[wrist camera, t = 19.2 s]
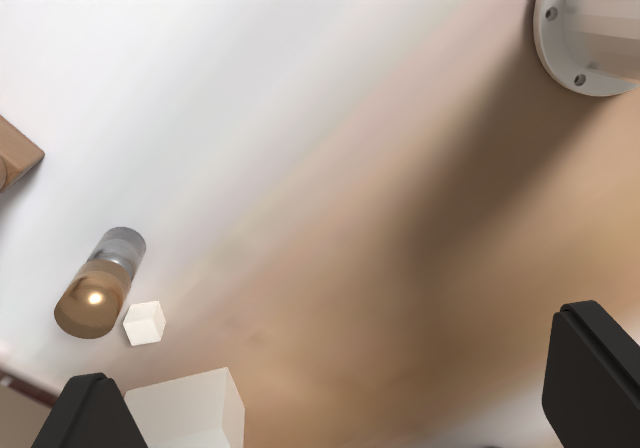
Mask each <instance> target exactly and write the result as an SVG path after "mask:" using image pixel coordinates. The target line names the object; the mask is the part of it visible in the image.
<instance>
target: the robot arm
mask: <svg viewBox="0 0 640 448" xmlns="http://www.w3.org/2000/svg"><path fill="white" fill-rule="evenodd" d="M546 12H547V15H546ZM545 15H546V16H545ZM533 33H534V41H535V46H536V50H537V54H538V56H539V58H540V60H541V63H542V65H543V67H544V68H545V70H546V71H547V72H548V73H549V75H550V76H551V77H552V78H553V79H554V80H555V81H557V82H558V83H559V84H560V85H562V86H563V87H565V88H568V89H570V90H572V91H575V92H578V93H581V94H585V95H589V96H610V95H617V94H621V93H624V92H627V91H630V90H633V89H636V88H637V87H639V86H640V0H536V2H535V9H534V17H533ZM542 407H543V410H544V413H545V415H546V417H547V419H548V421H549V423H550V424H551V426H552V428H553V430H554V431H555V433H556V435H557V436H558V438H559V440H560V441H561V443H562V445H563V447H564V448H640V346H639V345H638V344H637V343H636V342H635V341H634V340H633V339H632V338H631V337H630V336H629V335H628V334H627V333H626V332H625V331H624V330H623V329H622V327H621V326H620V325H619V324H618V323H617V322H616V321H615V320H614V319H613V318H612V317H611V316H610V315H609V314H608V313H607V312H606V311H605V310H604V309H603V308H602V306H601V305H600V304H598V303H597V302H596V301H593V300H589V301H582V302H576V303H569V304H564V305H563V306H562V307H561V309H560V312H557V313H555V314H554V316H553V322H552V329H551V336H550V343H549V350H548V358H547V365H546V372H545V379H544V386H543V394H542ZM31 448H148V446H147V444H146V442H145V440H144V438H143V436H142V434H141V432H140V430H139V428H138V426H137V424H136V422H135V420H134V418H133V416H132V414H131V413H130V411H129V409H128V407H127V405H126V403H125V401H124V399H123V397H122V395H121V393H120V391H119V389H118V387H117V385H116V383H115V381H114V380H113V379H112V378H108V379H107V377H106V376H105V374H103V373H93V374H87V375H80V376H73V377H72V378H70V379H69V381H68V382H67V383H66V385H65V387H64V389H63V391H62V392H61V394H60V396H59V398H58V400H57V401H56V403H55V405H54V407H53V409H52V410H51V412H50V414H49V416H48V418H47V420H46V421H45V423H44V425H43V427H42V429H41V430H40V432H39V434H38V436H37V438H36V439H35V441H34V443H33V445H32V447H31Z"/></svg>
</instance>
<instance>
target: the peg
mask: <svg viewBox="0 0 640 448" xmlns="http://www.w3.org/2000/svg"><path fill="white" fill-rule="evenodd" d="M145 251H146V244H145V241H144V239H143V237H142V236H141V235H140V234H139V233H138V232H136V231H134V230H132V229H130V228H126V227H116V228H113V229H110V230H109V231H107V232H106V233H105V234H104V236H103V237H102V239H101V240H100V242H99V244H98V245H97V247H96V248H95V250H94V251H93V253H92V254H91V256H90V257H89V259H88V260H87V262H86V263H85V264H84V265H83V266H82V267H81V268H80V270H79V271H78V273H77V274H76V276H75V277H74V279H73V280H72V282H71V284H70V285H69V287H68V288H67V290H66V291H65V293H64V294H63V296H62V297H61V299H60V300H59V302H58V303H57V305H56V307H55V310H54V316H55V320H56V322H57V324H58V325H59V326H60V327H61V328H62V329H63V330H64V331H65V332H67V333H68V334H70V335H72V336H75V337H78V338H83V339H94V338H99V337H102V336H104V335H106V334H107V333H109V332H110V331H111V330H112V328H113V326H114V324H115V322H116V320H117V318H118V315H119V313H120V311H121V309H122V306H123V304H124V302H125V300H126V297H127V295H128V293H129V291H130V288H131V283H132V281H133V278H134V276H135V274H136V272H137V270H138V267H139V265H140V263H141V261H142V258H143V256H144V254H145Z"/></svg>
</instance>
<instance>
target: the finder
mask: <svg viewBox="0 0 640 448" xmlns="http://www.w3.org/2000/svg"><path fill="white" fill-rule="evenodd" d="M124 401H125V403H126V405H127V407H128V409H129V411H130V413H131V414H132V416H133V418H134V420H135V422H136V424H137V426H138V428H139V430H140V432H141V434H142V436H143V438H144V440H145V442H146V444H147V446H148V448H243V439H244V417H245V407H244V405H243V402H242V400H241V398H240V395H239V393H238V391H237V388H236V386H235V384H234V381H233V379H232V377H231V374H230V372H229V370H228V367H224V368H220V369H216V370H212V371H207V372H203V373H199V374H195V375H191V376H186V377H182V378H178V379H174V380H170V381H165V382H161V383H157V384H153V385H149V386H144V387H140V388H136V389H132V390H128V391H126V394H125V397H124Z"/></svg>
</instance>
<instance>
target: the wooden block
mask: <svg viewBox="0 0 640 448" xmlns="http://www.w3.org/2000/svg"><path fill="white" fill-rule="evenodd" d="M44 154H45V153H44V152H43V151H42V150H41V149H40V148H39V147H38V146H36V145H35V144H34V143H33V142H32V141H30V140H29V139H28V138H27V137H26V136H25V135H23V134H22V133H21V132H20V131H19V130H18V129H16V128H15V127H14V126H13V125H12V124H10V123H9V122H8V121H7V120H6V119H5V118H3V117H2V116H1V115H0V195H1V194H2V193H3V192H5V191H6V190H7V189H9V188H10V187H11V186H12V185H14V184H15V183H16V182H17V181H18V180H19V179H21V178H22V177H23V176H24V175H25V174H26V173H27V172H28V171H29V170H30V169H31V168H32V167H33V166H34V165H36V164H37V163H38V162H39V161H40V160H41V159H42V158H43V157H44Z"/></svg>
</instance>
